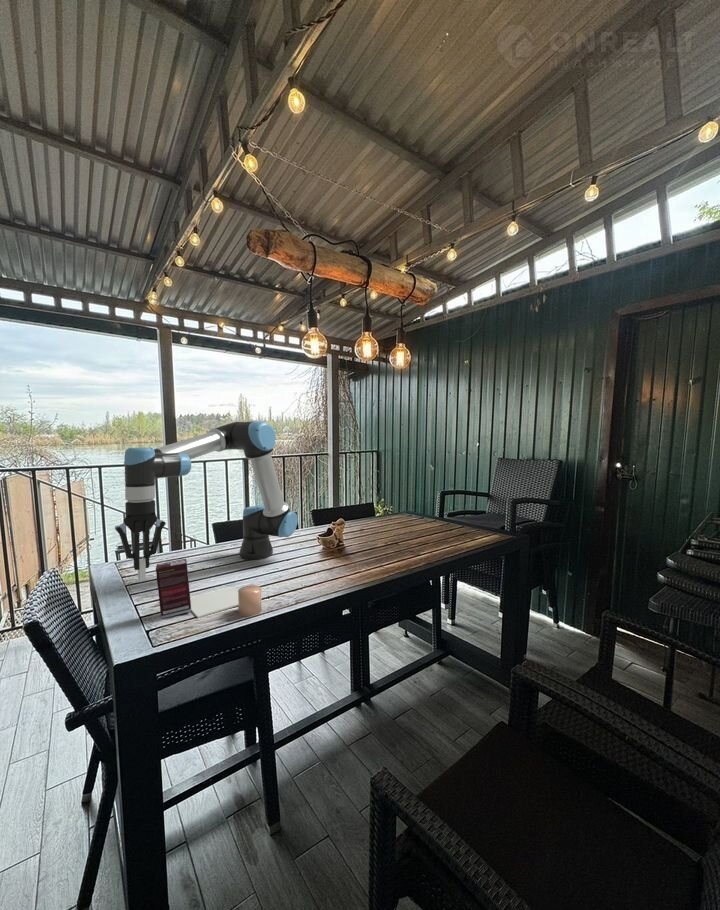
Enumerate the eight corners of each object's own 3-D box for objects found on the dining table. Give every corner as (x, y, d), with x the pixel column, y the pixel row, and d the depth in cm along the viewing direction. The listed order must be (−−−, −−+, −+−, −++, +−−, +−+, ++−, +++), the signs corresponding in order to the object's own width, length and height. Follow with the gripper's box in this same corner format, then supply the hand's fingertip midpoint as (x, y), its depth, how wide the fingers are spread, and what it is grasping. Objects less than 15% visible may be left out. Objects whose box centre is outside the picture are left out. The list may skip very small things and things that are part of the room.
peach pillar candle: (255, 604, 122) (255, 583, 121) (265, 611, 117) (265, 590, 116) (234, 610, 117) (234, 589, 117) (244, 618, 112) (244, 596, 112)
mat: (231, 587, 135) (231, 586, 135) (250, 601, 123) (250, 600, 123) (181, 600, 124) (181, 599, 124) (197, 618, 112) (197, 616, 112)
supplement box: (191, 605, 119) (187, 557, 118) (191, 611, 115) (187, 562, 114) (160, 612, 116) (156, 563, 114) (160, 619, 111) (155, 568, 110)
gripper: (161, 496, 115) (162, 571, 116) (111, 500, 106) (113, 581, 107) (168, 499, 109) (169, 577, 110) (116, 504, 100) (117, 589, 101)
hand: (141, 579), depth 109 cm, fingers closed
